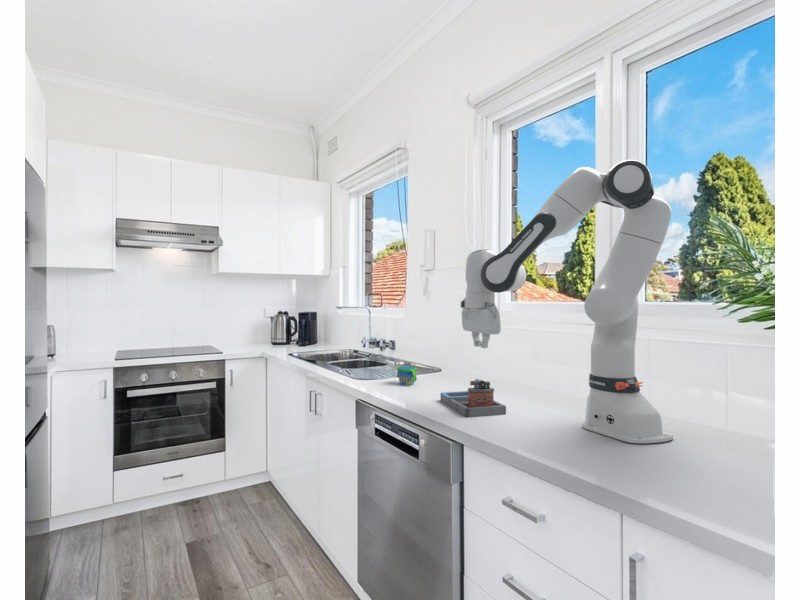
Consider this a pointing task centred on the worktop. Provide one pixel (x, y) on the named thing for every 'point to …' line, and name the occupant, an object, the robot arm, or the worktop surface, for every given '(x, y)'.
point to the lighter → (481, 394)
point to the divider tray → (461, 404)
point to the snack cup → (406, 375)
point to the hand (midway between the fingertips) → (480, 347)
